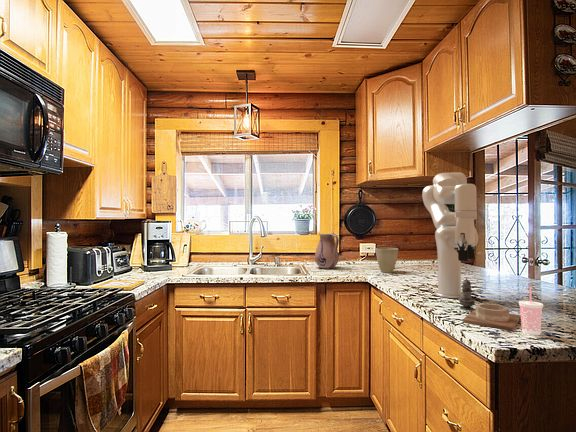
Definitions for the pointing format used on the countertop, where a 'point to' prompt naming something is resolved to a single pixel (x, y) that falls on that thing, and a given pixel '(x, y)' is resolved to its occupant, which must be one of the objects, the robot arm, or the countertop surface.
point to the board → (493, 317)
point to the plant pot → (386, 259)
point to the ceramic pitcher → (327, 251)
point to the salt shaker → (466, 296)
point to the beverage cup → (531, 316)
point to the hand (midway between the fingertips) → (466, 259)
